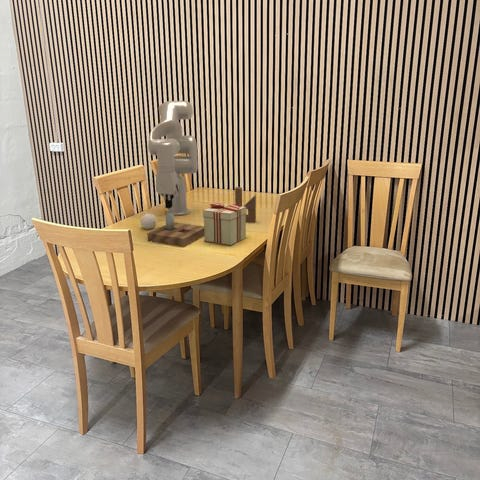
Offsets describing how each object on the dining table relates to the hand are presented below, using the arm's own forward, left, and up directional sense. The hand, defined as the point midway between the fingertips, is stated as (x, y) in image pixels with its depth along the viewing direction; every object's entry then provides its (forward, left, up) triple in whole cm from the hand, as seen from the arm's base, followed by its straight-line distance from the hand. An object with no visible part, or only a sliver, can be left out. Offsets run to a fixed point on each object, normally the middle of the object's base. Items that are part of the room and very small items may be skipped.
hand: (169, 207), depth 228 cm
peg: (0, -1, -14) cm, 14 cm away
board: (+4, -1, -14) cm, 15 cm away
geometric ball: (-18, +6, -14) cm, 24 cm away
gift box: (+25, +8, -15) cm, 30 cm away
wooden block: (+21, +37, -15) cm, 45 cm away
